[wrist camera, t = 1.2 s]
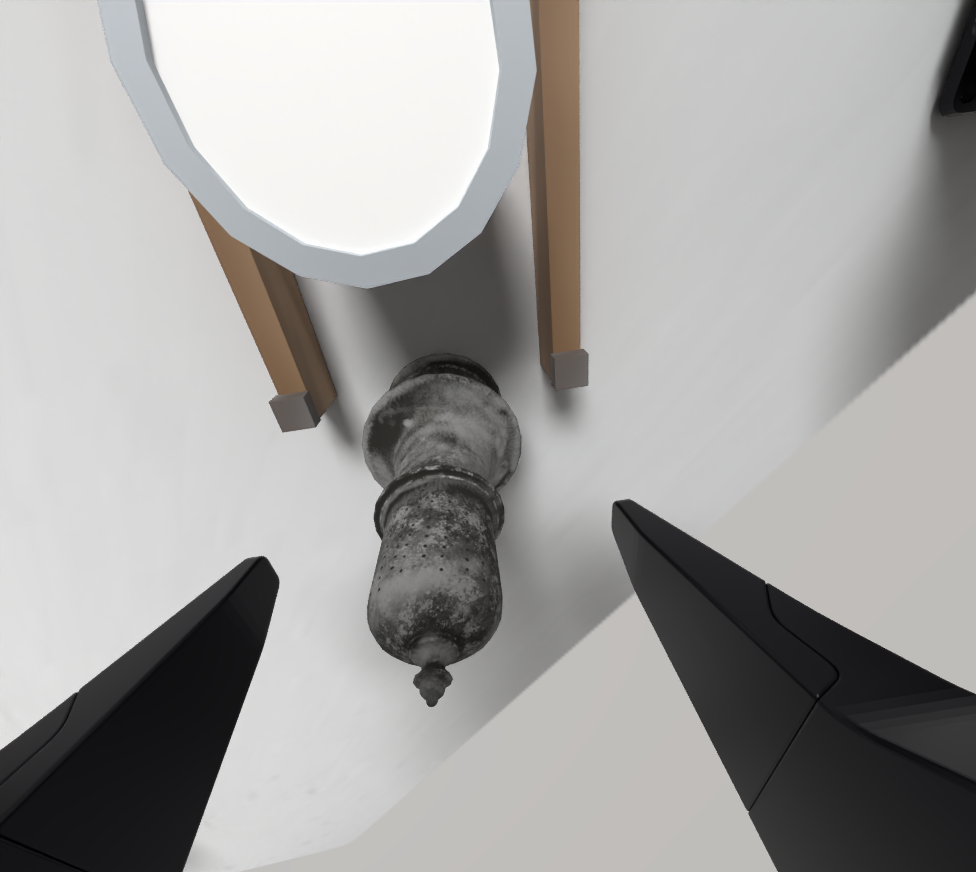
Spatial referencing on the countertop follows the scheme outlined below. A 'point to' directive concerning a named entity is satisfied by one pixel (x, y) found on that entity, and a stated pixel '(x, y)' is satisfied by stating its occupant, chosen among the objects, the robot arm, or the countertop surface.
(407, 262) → the white tapered cup
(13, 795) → the robot arm
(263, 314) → the wooden stand
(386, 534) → the salt shaker
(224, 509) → the countertop surface
